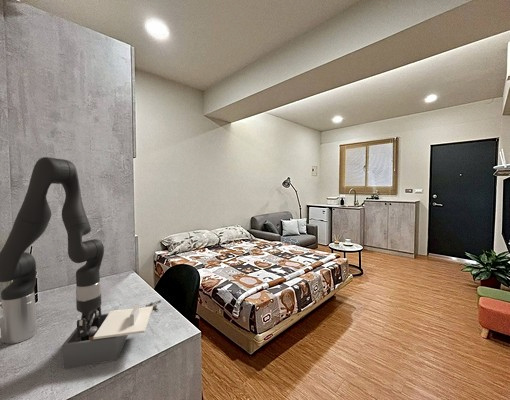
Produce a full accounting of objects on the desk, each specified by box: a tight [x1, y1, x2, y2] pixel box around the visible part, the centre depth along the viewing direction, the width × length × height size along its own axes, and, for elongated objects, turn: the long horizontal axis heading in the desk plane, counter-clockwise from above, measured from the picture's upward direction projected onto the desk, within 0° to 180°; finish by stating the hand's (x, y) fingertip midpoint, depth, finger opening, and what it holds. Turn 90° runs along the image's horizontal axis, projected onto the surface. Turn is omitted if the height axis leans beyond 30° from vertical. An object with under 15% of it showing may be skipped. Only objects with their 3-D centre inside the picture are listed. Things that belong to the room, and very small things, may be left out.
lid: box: [93, 303, 154, 340], centre depth 91 cm, size 16×17×5 cm
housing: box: [61, 312, 129, 369], centre depth 89 cm, size 16×18×8 cm
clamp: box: [145, 299, 162, 311], centre depth 115 cm, size 15×2×10 cm
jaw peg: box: [89, 326, 98, 340], centre depth 89 cm, size 4×4×7 cm
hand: (90, 337), depth 89 cm, fingers open, 8 cm apart
